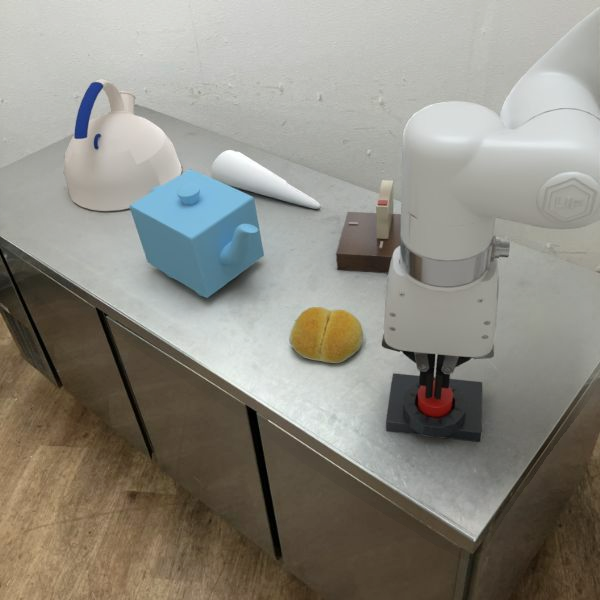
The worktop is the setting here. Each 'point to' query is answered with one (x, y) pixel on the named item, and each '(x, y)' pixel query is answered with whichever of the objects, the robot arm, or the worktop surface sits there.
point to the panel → (366, 243)
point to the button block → (410, 420)
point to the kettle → (116, 153)
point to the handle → (384, 209)
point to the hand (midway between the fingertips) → (433, 388)
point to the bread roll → (326, 335)
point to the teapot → (198, 231)
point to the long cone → (256, 179)
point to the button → (435, 402)
